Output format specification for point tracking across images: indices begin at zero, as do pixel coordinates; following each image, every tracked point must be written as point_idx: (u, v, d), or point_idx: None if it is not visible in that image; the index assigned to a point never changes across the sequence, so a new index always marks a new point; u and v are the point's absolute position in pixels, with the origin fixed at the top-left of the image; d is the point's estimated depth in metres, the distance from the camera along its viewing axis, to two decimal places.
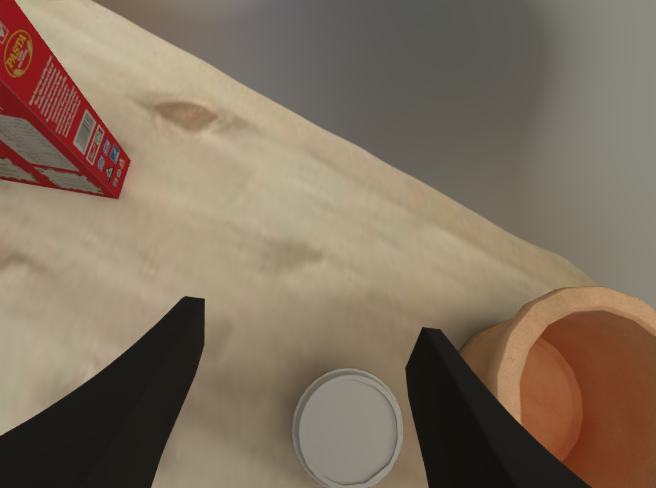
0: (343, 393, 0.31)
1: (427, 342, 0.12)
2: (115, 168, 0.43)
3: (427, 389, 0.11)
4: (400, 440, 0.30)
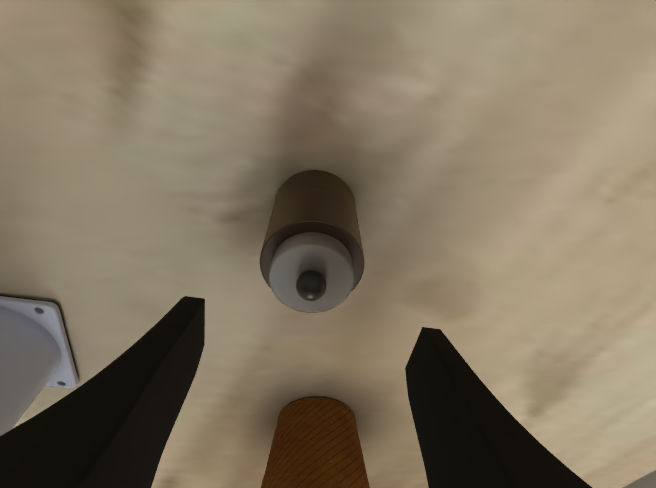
0: None
1: (427, 342, 0.12)
2: None
3: (427, 389, 0.11)
4: None
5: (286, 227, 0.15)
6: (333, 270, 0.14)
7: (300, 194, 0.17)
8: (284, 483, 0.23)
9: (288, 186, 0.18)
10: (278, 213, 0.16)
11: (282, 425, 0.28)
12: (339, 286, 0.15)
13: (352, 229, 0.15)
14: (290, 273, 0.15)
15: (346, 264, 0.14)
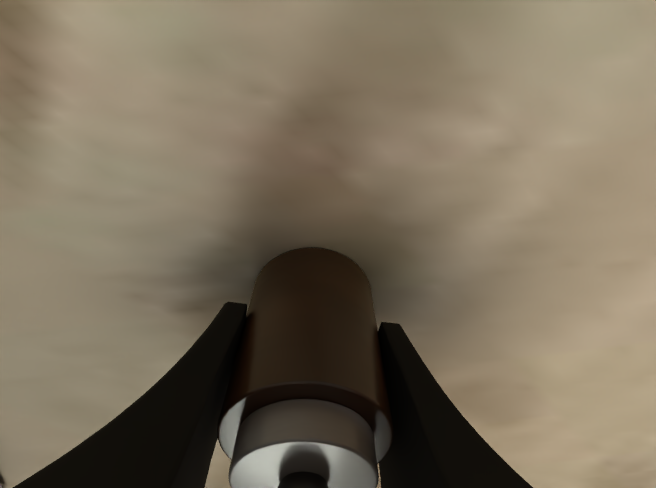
0: None
1: (384, 336, 0.11)
2: None
3: None
4: None
5: (260, 392, 0.08)
6: (342, 472, 0.08)
7: (288, 306, 0.10)
8: None
9: (272, 277, 0.12)
10: (251, 341, 0.10)
11: None
12: None
13: (374, 381, 0.09)
14: (266, 475, 0.08)
15: (366, 464, 0.08)
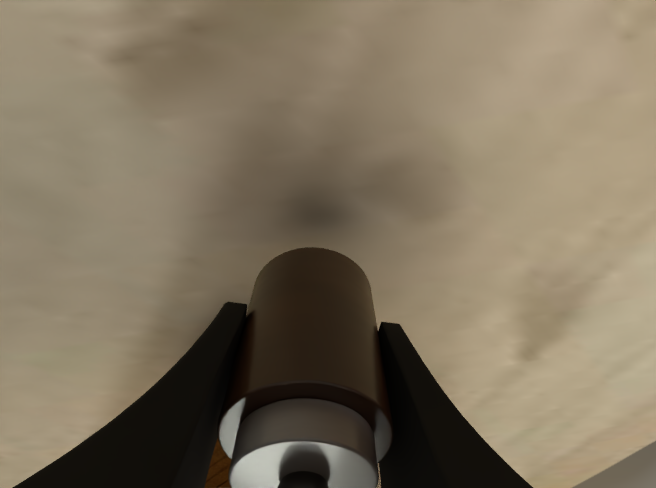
0: None
1: (384, 336, 0.11)
2: None
3: None
4: None
5: (260, 391, 0.08)
6: (342, 472, 0.08)
7: (288, 305, 0.10)
8: None
9: (271, 277, 0.12)
10: (251, 341, 0.10)
11: None
12: None
13: (374, 380, 0.09)
14: (266, 474, 0.08)
15: (366, 464, 0.08)
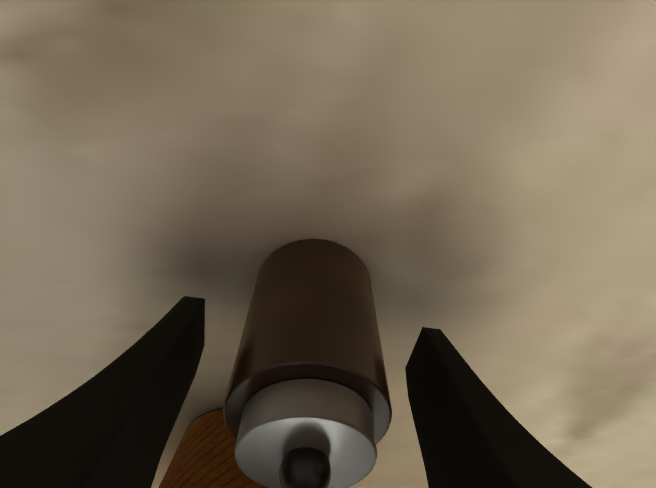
0: None
1: (427, 342, 0.12)
2: None
3: (427, 389, 0.11)
4: None
5: (264, 372, 0.09)
6: (343, 448, 0.09)
7: (291, 293, 0.11)
8: None
9: (274, 267, 0.12)
10: (255, 326, 0.10)
11: (180, 453, 0.17)
12: (352, 465, 0.09)
13: (373, 363, 0.10)
14: (270, 450, 0.09)
15: (365, 440, 0.08)
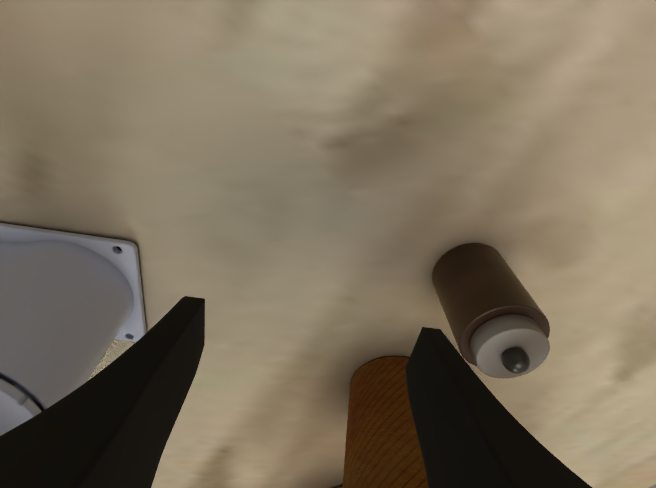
0: None
1: (427, 342, 0.12)
2: None
3: (427, 389, 0.11)
4: None
5: (493, 310, 0.17)
6: (534, 347, 0.17)
7: (484, 273, 0.20)
8: (381, 438, 0.21)
9: (459, 260, 0.21)
10: (469, 291, 0.19)
11: (362, 384, 0.26)
12: (534, 359, 0.18)
13: None
14: (497, 349, 0.17)
15: (546, 343, 0.17)
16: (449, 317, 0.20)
